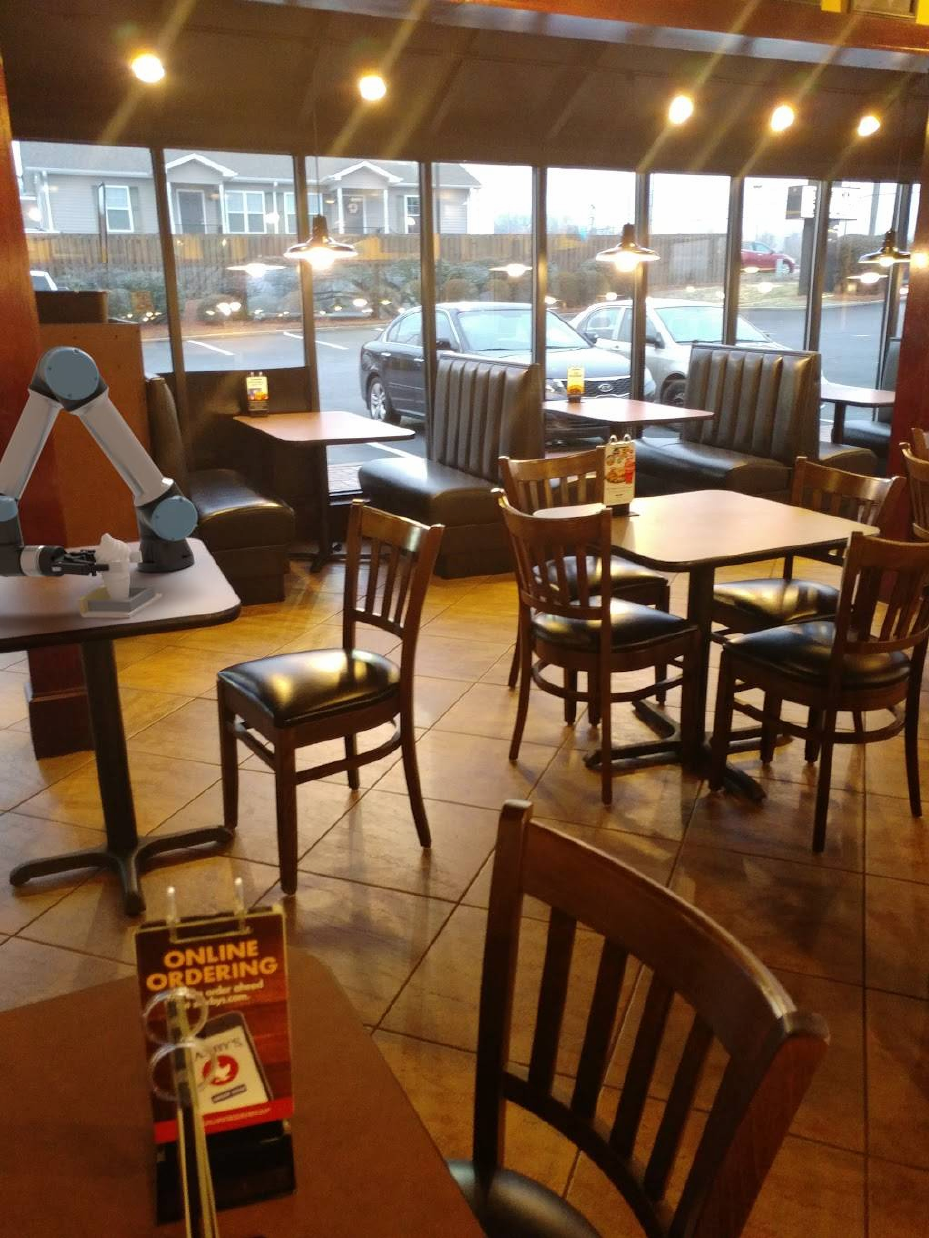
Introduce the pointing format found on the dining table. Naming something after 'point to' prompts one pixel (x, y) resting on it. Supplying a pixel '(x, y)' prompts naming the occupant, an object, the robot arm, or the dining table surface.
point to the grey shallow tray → (117, 602)
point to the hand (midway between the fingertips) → (131, 561)
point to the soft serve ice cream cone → (115, 552)
